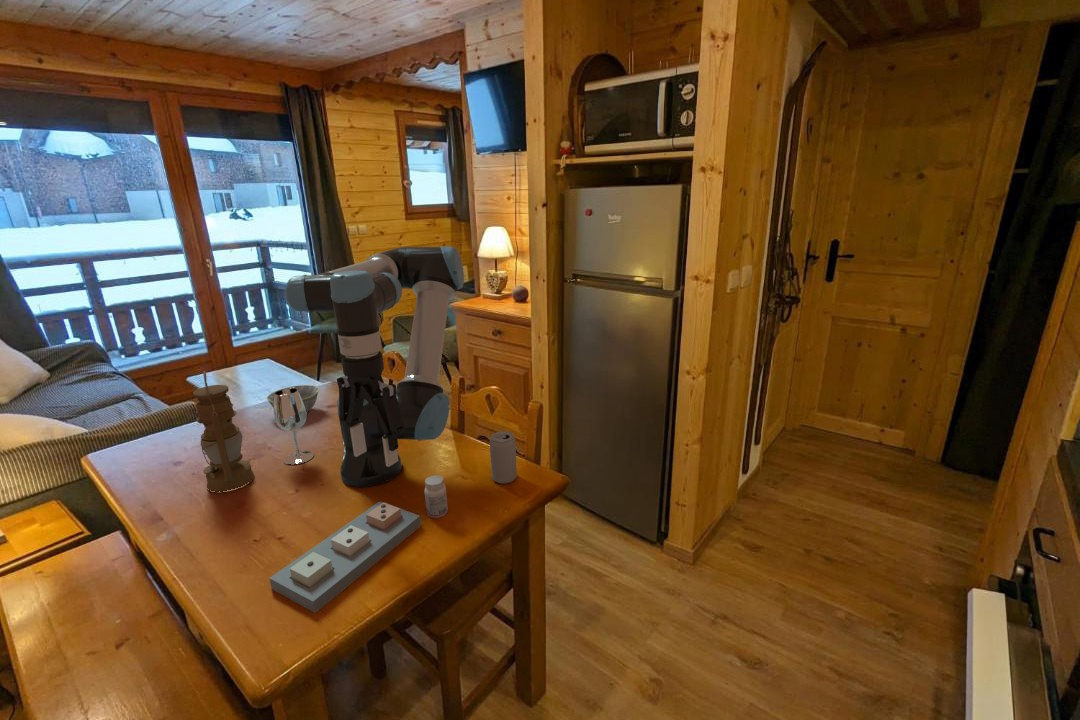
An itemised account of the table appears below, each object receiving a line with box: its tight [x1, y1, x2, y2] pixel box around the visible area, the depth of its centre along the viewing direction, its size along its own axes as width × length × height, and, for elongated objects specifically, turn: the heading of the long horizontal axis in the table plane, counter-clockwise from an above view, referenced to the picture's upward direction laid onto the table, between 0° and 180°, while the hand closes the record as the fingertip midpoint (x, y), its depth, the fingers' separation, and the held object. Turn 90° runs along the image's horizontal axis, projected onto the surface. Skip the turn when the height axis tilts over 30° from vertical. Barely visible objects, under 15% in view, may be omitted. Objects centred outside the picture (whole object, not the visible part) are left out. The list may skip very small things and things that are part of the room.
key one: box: [289, 552, 333, 588], centre depth 91 cm, size 5×5×3 cm
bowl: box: [266, 384, 320, 414], centre depth 166 cm, size 16×16×8 cm
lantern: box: [192, 370, 255, 492], centre depth 122 cm, size 15×10×30 cm
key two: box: [331, 525, 370, 557], centre depth 98 cm, size 5×5×3 cm
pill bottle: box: [424, 474, 449, 519], centre depth 111 cm, size 5×5×8 cm
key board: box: [268, 501, 422, 614], centre depth 99 cm, size 27×12×2 cm, turn 151°
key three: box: [366, 501, 402, 531], centre depth 106 cm, size 5×5×3 cm
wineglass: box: [273, 387, 314, 466], centre depth 134 cm, size 8×8×20 cm
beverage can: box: [489, 430, 518, 485], centre depth 123 cm, size 6×6×12 cm
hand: (376, 458), depth 101 cm, fingers open, 8 cm apart
